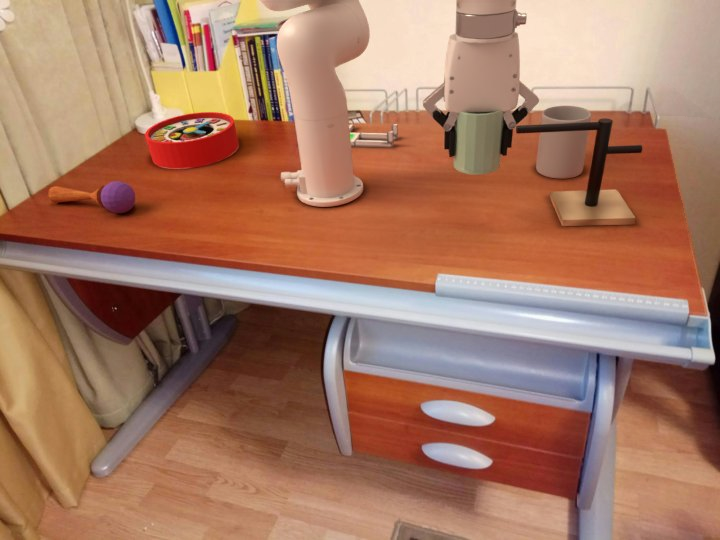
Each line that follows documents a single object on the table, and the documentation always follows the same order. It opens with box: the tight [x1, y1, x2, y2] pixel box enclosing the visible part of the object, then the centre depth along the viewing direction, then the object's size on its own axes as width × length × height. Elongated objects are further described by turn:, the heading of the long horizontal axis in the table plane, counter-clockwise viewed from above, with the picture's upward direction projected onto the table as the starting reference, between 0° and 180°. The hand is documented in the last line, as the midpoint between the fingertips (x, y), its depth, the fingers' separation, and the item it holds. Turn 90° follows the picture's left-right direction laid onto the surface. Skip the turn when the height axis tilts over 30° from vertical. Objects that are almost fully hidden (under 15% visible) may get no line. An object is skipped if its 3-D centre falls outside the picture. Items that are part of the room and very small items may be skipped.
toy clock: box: [144, 111, 240, 170], centre depth 127 cm, size 20×6×20 cm
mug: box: [535, 105, 592, 180], centre depth 103 cm, size 12×8×11 cm
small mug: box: [452, 110, 504, 176], centre depth 82 cm, size 11×7×9 cm, turn 175°
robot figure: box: [349, 123, 399, 149], centre depth 124 cm, size 16×3×22 cm
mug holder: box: [515, 117, 643, 227], centre depth 87 cm, size 19×10×15 cm, turn 85°
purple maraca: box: [47, 180, 136, 214], centre depth 106 cm, size 6×6×20 cm
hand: (476, 151), depth 82 cm, fingers closed on small mug, 7 cm apart
